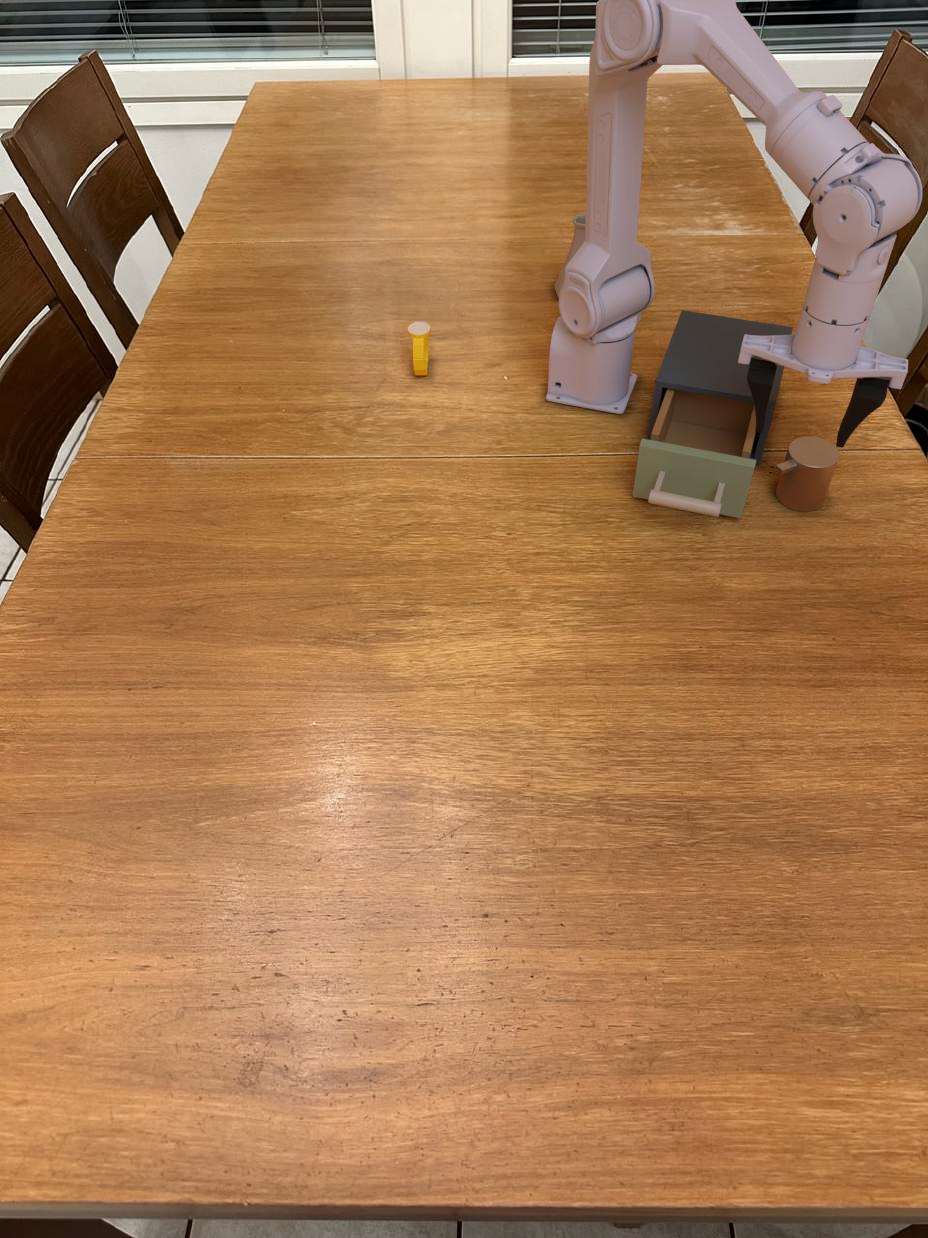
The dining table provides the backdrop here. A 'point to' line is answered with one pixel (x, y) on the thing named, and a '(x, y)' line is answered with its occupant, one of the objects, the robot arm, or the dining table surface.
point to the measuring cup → (806, 473)
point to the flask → (572, 247)
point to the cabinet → (714, 364)
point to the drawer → (698, 455)
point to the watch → (420, 346)
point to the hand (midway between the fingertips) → (799, 433)
